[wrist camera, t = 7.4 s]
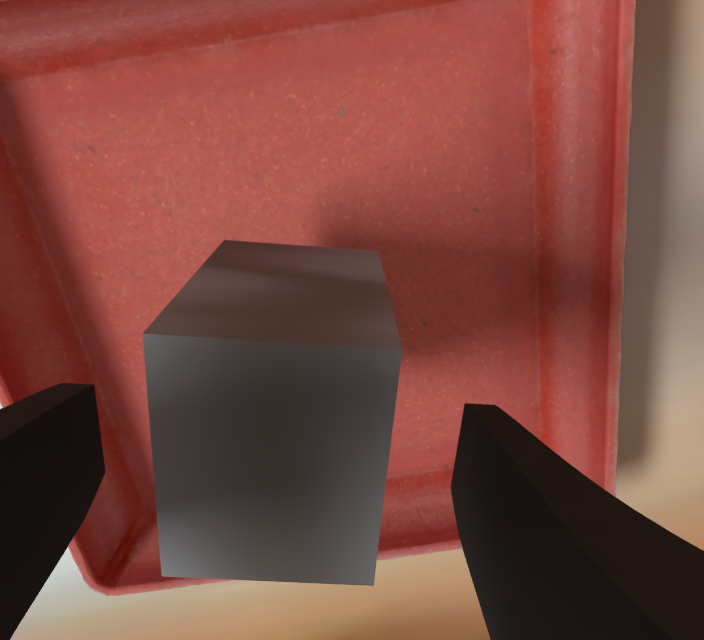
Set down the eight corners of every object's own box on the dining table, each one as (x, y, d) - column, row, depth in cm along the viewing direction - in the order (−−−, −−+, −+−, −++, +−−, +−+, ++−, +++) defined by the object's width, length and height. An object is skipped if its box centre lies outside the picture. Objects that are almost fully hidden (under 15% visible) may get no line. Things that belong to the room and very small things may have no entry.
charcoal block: (226, 407, 16) (161, 576, 10) (224, 239, 14) (142, 333, 8) (362, 415, 16) (373, 586, 10) (378, 250, 14) (402, 349, 8)
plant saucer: (582, -89, 14) (651, -143, 11) (578, 470, 21) (619, 534, 18) (-77, 31, 15) (-189, 11, 12) (127, 530, 21) (91, 601, 18)
